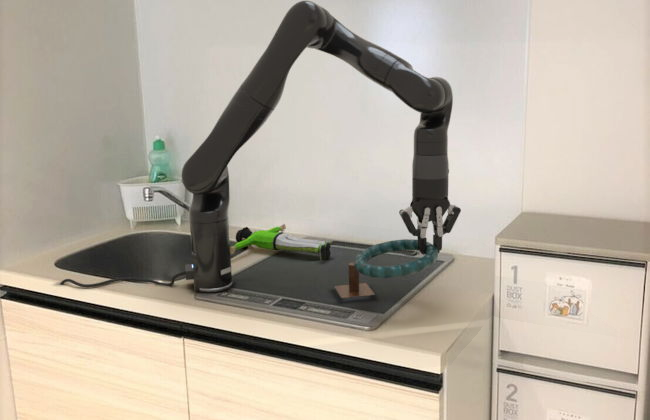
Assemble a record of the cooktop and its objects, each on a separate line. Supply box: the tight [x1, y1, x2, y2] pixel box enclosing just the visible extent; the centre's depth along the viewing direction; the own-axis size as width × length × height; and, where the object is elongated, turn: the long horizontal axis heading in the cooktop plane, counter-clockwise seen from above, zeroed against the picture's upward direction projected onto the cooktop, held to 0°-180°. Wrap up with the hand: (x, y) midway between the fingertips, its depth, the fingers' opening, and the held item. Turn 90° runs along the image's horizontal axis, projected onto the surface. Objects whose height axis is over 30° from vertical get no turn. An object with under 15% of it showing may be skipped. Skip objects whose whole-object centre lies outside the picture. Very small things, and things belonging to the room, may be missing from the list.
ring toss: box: [333, 261, 376, 299], centre depth 160 cm, size 8×8×8 cm
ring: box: [353, 238, 439, 279], centre depth 147 cm, size 18×18×2 cm
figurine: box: [230, 223, 332, 262], centre depth 193 cm, size 28×6×30 cm
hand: (429, 252), depth 148 cm, fingers closed on ring, 2 cm apart
